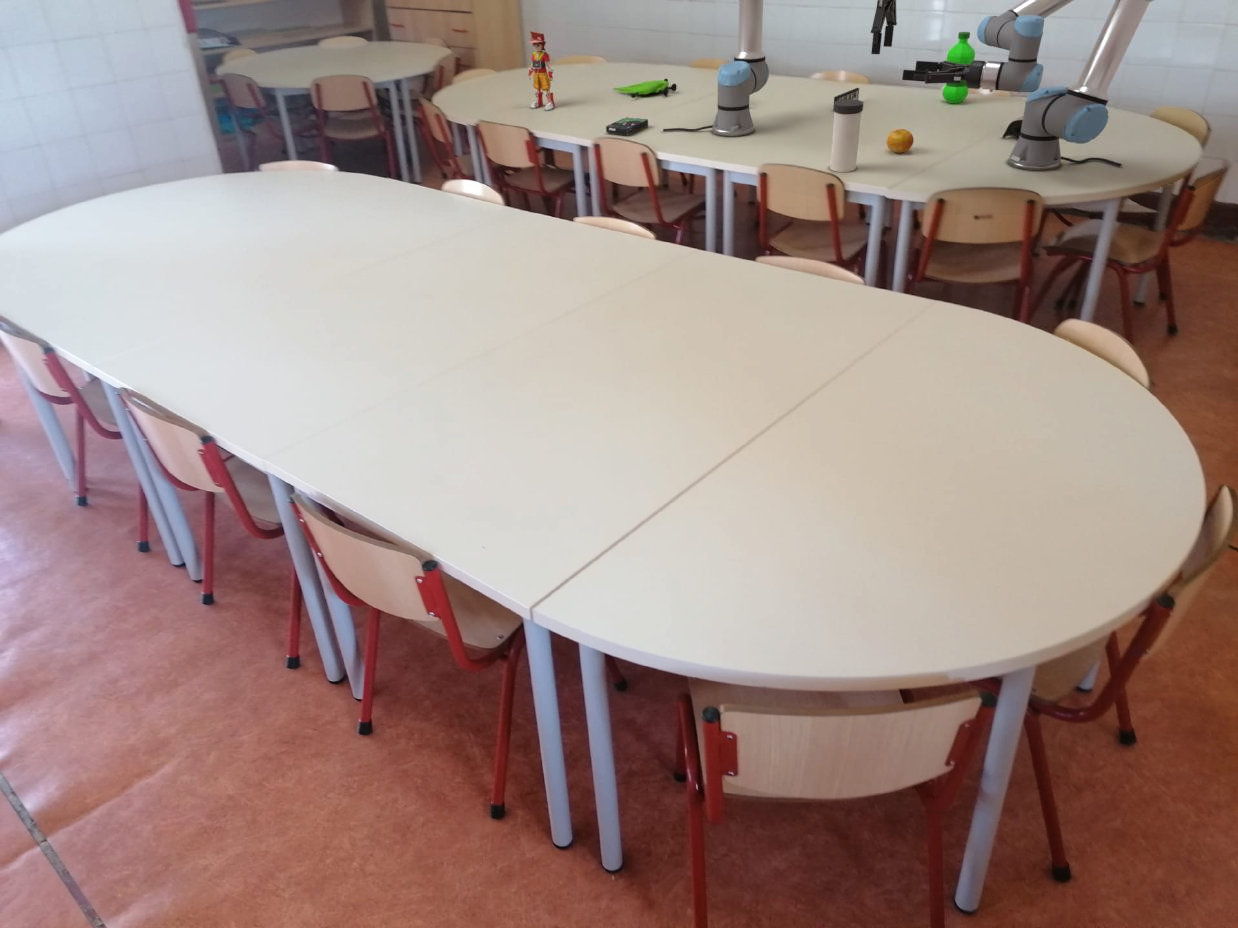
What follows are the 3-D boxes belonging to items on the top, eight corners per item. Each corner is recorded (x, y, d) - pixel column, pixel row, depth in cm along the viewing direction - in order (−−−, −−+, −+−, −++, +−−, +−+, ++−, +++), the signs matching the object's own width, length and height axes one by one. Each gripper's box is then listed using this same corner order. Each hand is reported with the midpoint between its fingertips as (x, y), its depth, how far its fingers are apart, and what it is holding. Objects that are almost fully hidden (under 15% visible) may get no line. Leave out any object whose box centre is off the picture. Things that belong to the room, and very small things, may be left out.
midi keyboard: (835, 110, 353) (837, 97, 350) (833, 110, 354) (834, 97, 351) (858, 101, 363) (859, 88, 361) (855, 101, 364) (856, 88, 361)
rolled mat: (1032, 109, 328) (1056, 91, 320) (1046, 130, 329) (1070, 113, 320) (998, 131, 311) (1023, 113, 303) (1012, 153, 311) (1038, 136, 303)
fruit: (881, 143, 301) (896, 121, 298) (883, 146, 309) (897, 125, 306) (901, 157, 300) (917, 135, 297) (903, 159, 308) (918, 138, 305)
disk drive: (628, 136, 338) (648, 126, 348) (628, 129, 337) (648, 118, 347) (605, 134, 343) (625, 123, 353) (605, 126, 341) (625, 116, 351)
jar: (832, 163, 298) (837, 100, 286) (857, 165, 295) (863, 101, 284) (828, 171, 292) (833, 107, 280) (853, 172, 289) (859, 108, 278)
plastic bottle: (973, 101, 354) (984, 32, 339) (955, 106, 349) (966, 36, 335) (952, 97, 361) (962, 29, 346) (934, 102, 356) (944, 33, 342)
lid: (835, 106, 288) (836, 99, 287) (864, 107, 285) (865, 99, 284) (831, 113, 281) (831, 105, 280) (860, 114, 278) (861, 106, 277)
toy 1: (525, 109, 381) (517, 32, 364) (534, 104, 388) (527, 28, 371) (550, 110, 377) (543, 32, 360) (559, 105, 384) (553, 28, 367)
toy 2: (686, 85, 398) (631, 84, 414) (685, 72, 395) (629, 72, 411) (651, 104, 381) (596, 103, 397) (650, 92, 378) (594, 91, 394)
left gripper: (889, -14, 286) (881, 58, 298) (910, -24, 303) (902, 44, 315) (865, -14, 289) (859, 57, 301) (888, -25, 306) (881, 43, 318)
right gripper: (970, 98, 251) (895, 92, 261) (990, 80, 269) (919, 75, 278) (975, 70, 247) (899, 65, 256) (995, 53, 265) (923, 49, 274)
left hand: (881, 50), depth 308 cm, fingers open, 13 cm apart
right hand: (909, 70), depth 267 cm, fingers open, 13 cm apart
